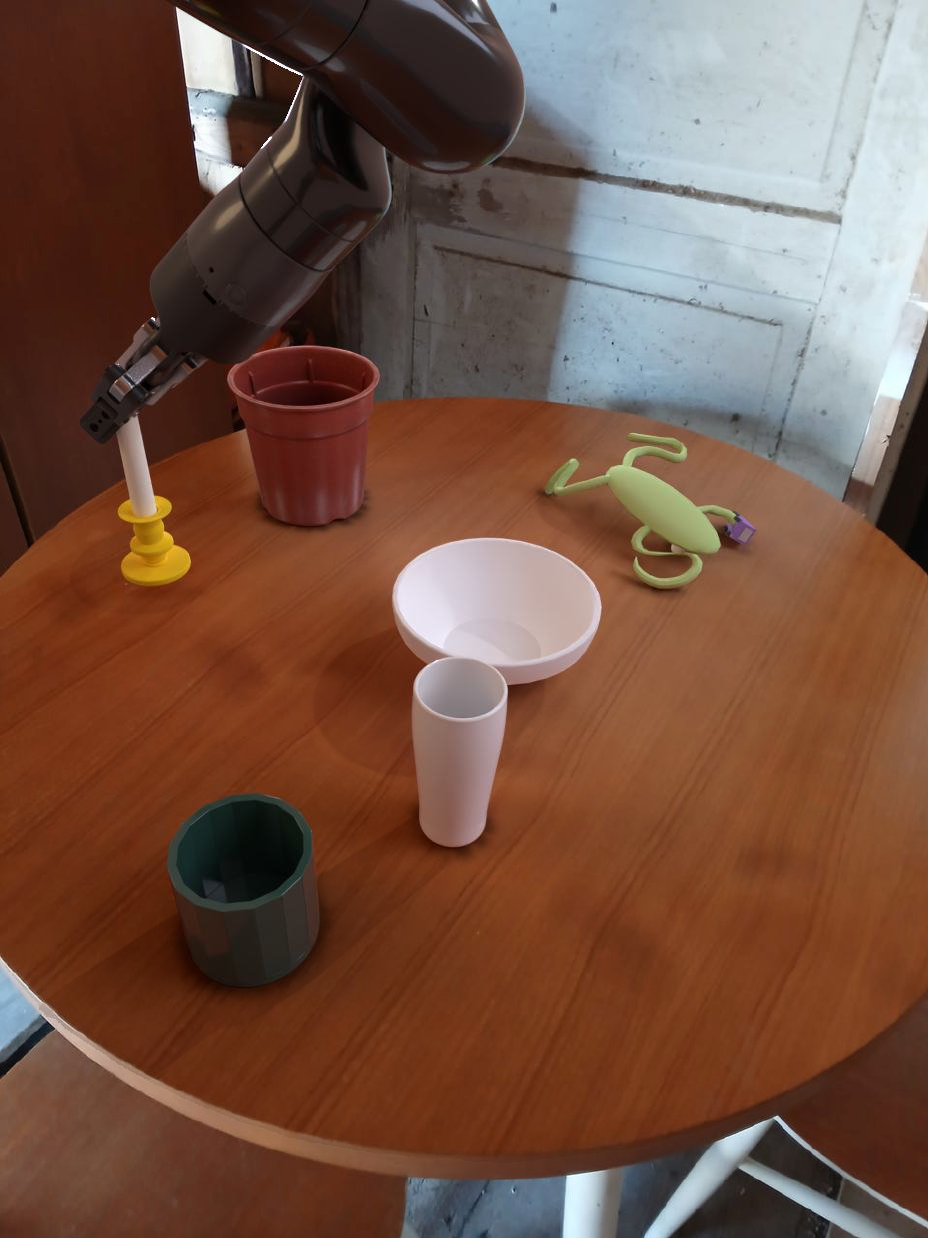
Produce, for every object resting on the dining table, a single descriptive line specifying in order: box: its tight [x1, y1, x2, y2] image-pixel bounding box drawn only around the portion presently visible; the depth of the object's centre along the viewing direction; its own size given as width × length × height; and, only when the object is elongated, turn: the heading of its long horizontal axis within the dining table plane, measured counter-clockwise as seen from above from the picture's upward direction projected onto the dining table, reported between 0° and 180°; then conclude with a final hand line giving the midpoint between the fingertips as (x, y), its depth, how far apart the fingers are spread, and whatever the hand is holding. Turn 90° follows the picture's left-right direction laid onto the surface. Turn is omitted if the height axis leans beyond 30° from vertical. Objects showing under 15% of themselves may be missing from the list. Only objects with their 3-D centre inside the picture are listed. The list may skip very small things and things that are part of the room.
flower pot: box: [226, 345, 381, 527], centre depth 104 cm, size 16×16×16 cm
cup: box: [165, 792, 321, 988], centre depth 62 cm, size 9×9×9 cm
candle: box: [115, 415, 192, 587], centre depth 66 cm, size 5×5×16 cm
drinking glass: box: [411, 657, 509, 848], centre depth 68 cm, size 7×7×15 cm
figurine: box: [544, 432, 758, 590], centre depth 107 cm, size 18×27×6 cm
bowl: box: [391, 537, 602, 686], centre depth 86 cm, size 20×20×7 cm
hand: (101, 425), depth 64 cm, fingers closed on candle
